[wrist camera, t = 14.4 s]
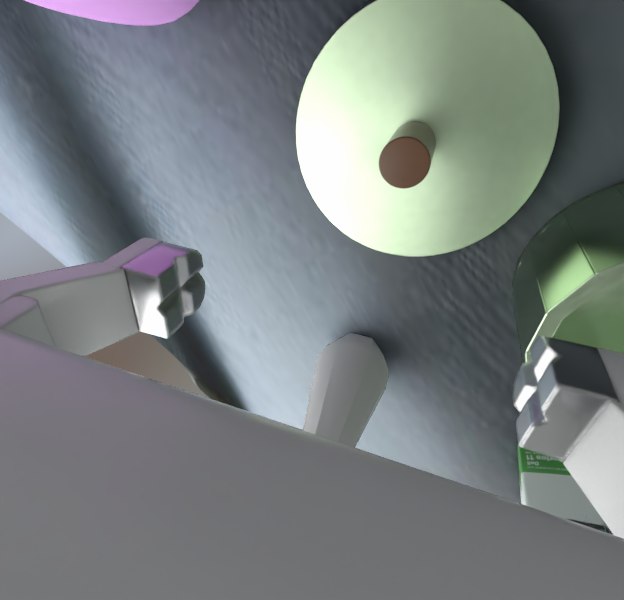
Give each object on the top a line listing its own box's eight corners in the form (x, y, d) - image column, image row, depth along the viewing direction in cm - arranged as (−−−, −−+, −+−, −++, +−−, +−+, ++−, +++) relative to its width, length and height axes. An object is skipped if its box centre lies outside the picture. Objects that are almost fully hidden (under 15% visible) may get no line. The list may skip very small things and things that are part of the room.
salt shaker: (329, 374, 35) (272, 514, 25) (319, 322, 32) (251, 457, 22) (395, 381, 33) (362, 537, 23) (391, 326, 30) (352, 477, 20)
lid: (611, -4, 17) (657, -16, 13) (499, 268, 25) (506, 315, 21) (309, -23, 20) (268, -37, 16) (296, 226, 28) (267, 260, 24)
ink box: (515, 440, 32) (534, 604, 23) (586, 444, 30) (639, 627, 21) (519, 502, 36) (536, 664, 27) (582, 510, 34) (624, 688, 25)
